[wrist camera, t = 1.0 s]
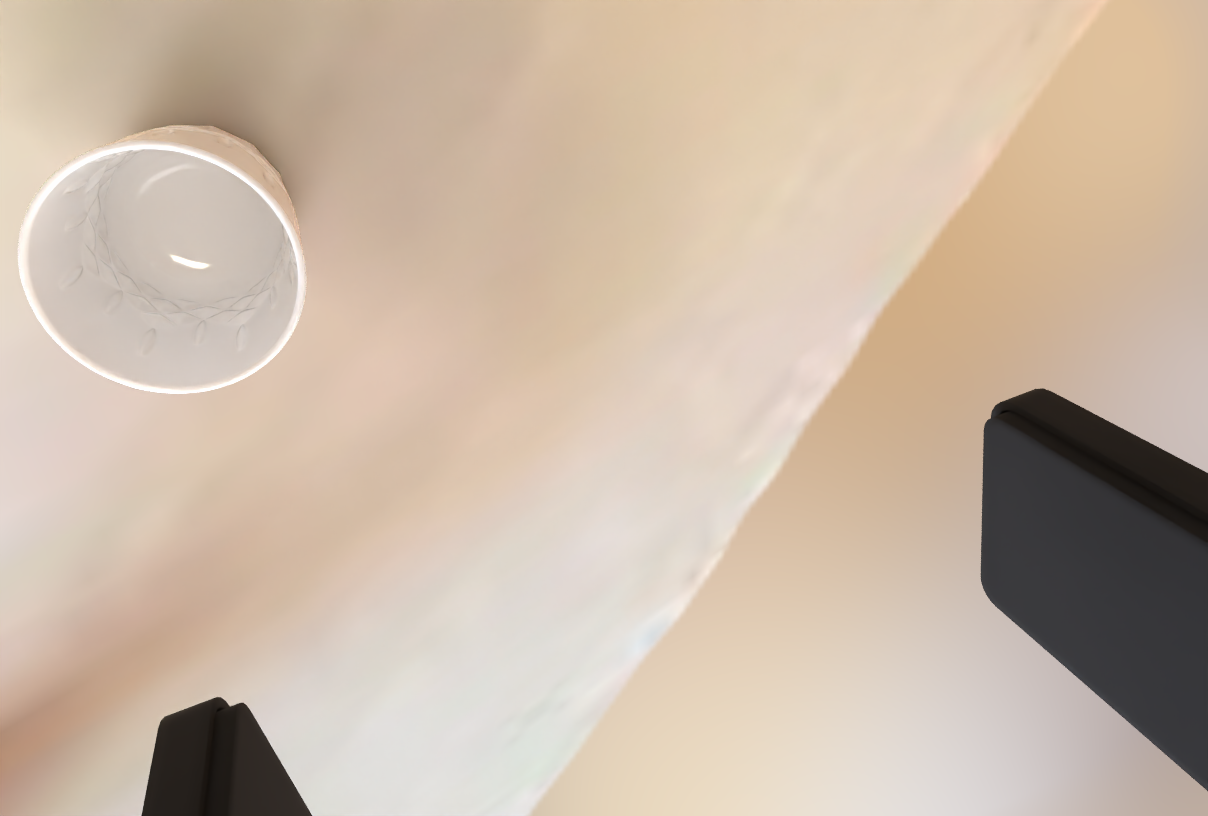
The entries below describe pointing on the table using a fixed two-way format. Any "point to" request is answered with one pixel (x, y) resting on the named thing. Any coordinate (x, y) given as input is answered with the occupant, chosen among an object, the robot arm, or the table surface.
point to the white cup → (166, 259)
